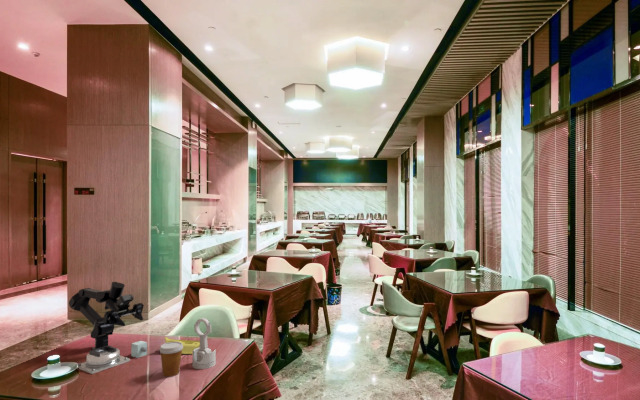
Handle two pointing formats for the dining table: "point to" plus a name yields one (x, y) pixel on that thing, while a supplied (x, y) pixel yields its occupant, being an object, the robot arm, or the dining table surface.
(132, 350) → the block with peg
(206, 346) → the engine component
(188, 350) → the plastic component
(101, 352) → the metal mounting base
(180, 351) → the disposable coffee cup
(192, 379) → the dining table surface
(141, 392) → the dining table surface
